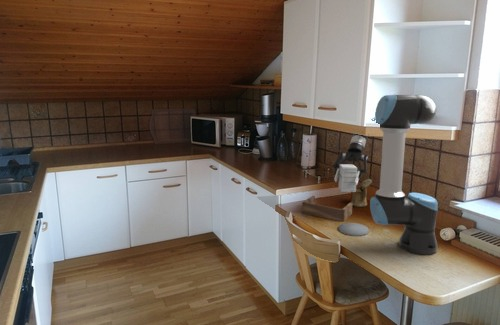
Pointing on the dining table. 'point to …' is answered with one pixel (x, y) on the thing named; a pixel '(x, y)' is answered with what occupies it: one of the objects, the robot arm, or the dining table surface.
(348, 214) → the walnut cubby
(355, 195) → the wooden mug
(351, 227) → the slate mat
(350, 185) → the supplement box
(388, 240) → the dining table surface
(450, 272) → the dining table surface
